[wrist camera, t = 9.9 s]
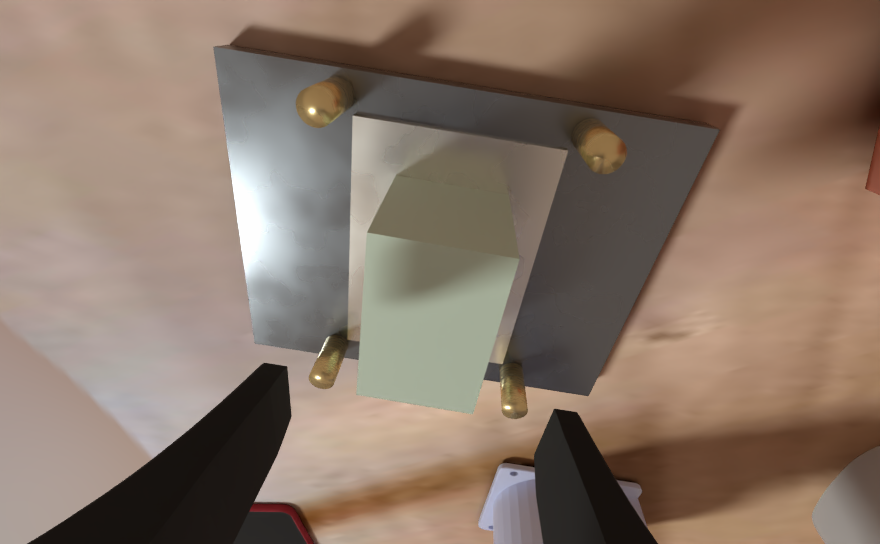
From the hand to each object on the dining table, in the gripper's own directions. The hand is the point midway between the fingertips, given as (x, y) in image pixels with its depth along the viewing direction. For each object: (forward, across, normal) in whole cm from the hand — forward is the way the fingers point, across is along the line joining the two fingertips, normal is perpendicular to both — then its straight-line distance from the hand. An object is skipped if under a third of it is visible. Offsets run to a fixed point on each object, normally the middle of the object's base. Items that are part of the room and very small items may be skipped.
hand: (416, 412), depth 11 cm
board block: (+8, 0, 0) cm, 8 cm away
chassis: (+9, 0, 0) cm, 9 cm away
